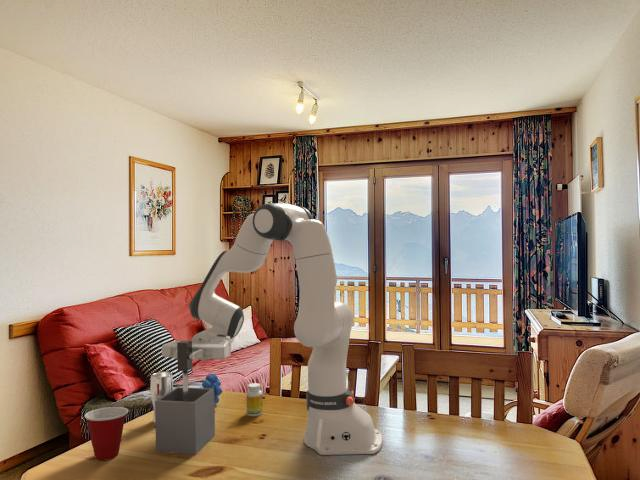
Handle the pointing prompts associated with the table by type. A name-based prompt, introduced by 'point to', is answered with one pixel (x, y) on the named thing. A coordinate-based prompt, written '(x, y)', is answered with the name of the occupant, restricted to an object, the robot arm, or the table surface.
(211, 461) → the table surface
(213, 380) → the grapes
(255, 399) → the supplement bottle
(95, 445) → the plastic cup
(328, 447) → the robot arm
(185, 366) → the plunger
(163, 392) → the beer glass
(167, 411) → the box
